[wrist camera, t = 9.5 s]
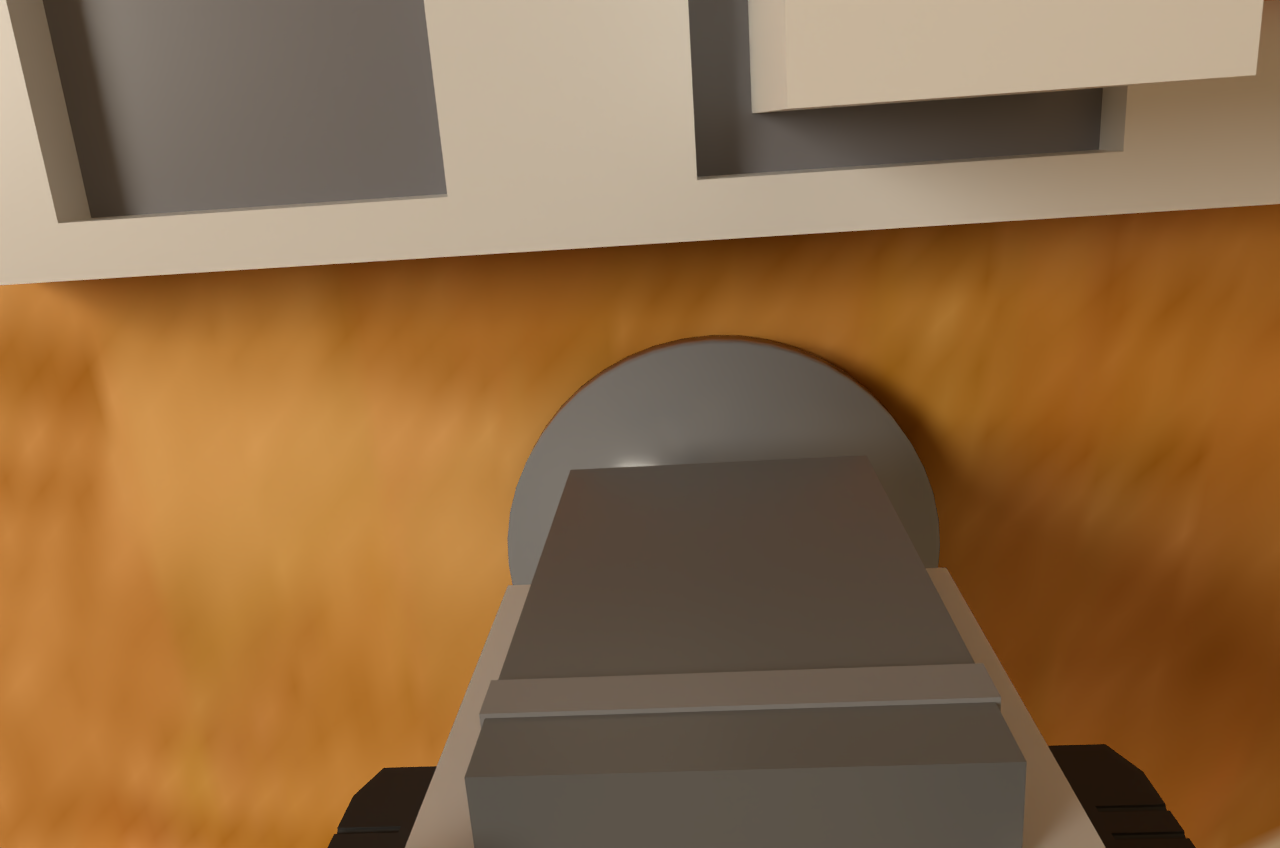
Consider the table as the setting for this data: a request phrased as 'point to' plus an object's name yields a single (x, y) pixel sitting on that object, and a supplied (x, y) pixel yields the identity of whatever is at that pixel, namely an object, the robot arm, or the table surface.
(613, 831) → the block
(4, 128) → the strip
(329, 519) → the table surface
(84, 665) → the table surface
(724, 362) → the grey disc
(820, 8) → the white plug
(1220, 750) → the table surface
